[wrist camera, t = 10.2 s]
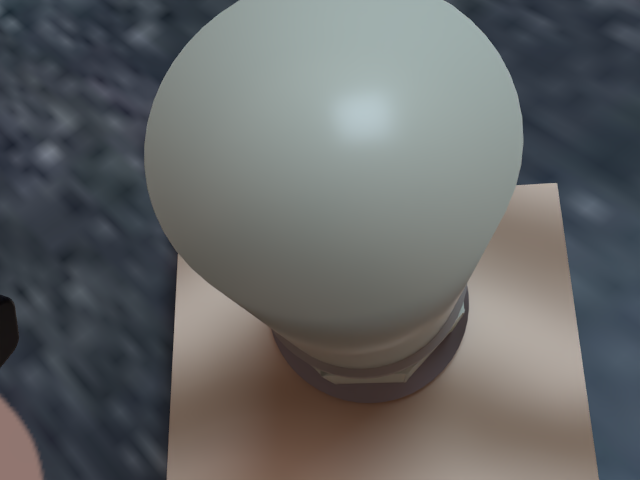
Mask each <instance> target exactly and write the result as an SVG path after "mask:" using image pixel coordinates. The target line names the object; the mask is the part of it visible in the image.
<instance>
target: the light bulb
mask: <svg viewBox="0 0 640 480" xmlns="http://www.w3.org/2000/svg"><path fill="white" fill-rule="evenodd" d="M522 149H523V126H522V115H521V110H520V105H519V100H518V95H517V92H516V90H515V87H514V84H513V81H512V79H511V76H510V73H509V71H508V70H507V68H506V66H505V64H504V62H503V60H502V58H501V57H500V55H499V53H498V52H497V50H496V49H495V48H494V46H493V45H492V43H491V42H490V41H489V39H488V38H487V37H486V35H485V34H484V33H483V32H482V31H481V30H480V29H479V28H478V27H477V26H476V25H475V24H474V23H473V22H472V21H471V20H470V19H469V18H468V17H466V16H465V15H464V14H462V13H461V12H460V11H459V10H457V9H456V8H455V7H454V6H452V5H451V4H449V3H447V2H446V1H444V0H240V1H238V2H236V3H235V4H233V5H232V6H230V7H229V8H227V9H226V10H224V11H223V12H221V13H220V14H218V15H217V16H216V17H215V18H214V19H212V20H211V21H210V22H209V23H208V24H206V25H205V26H204V27H203V28H202V29H201V30H200V31H199V32H198V33H197V34H196V35H195V36H194V37H193V38H192V39H191V40H190V41H189V42H188V43H187V44H186V46H185V47H184V48H183V50H182V51H181V52H180V54H179V55H178V56H177V58H176V59H175V60H174V62H173V63H172V65H171V67H170V68H169V70H168V72H167V74H166V75H165V77H164V79H163V81H162V83H161V85H160V87H159V90H158V92H157V94H156V97H155V99H154V102H153V105H152V109H151V112H150V116H149V119H148V123H147V130H146V138H145V156H144V167H145V174H146V181H147V188H148V192H149V195H150V199H151V202H152V206H153V209H154V212H155V214H156V216H157V218H158V221H159V223H160V225H161V227H162V229H163V231H164V233H165V235H166V236H167V238H168V239H169V241H170V242H171V244H172V245H173V247H174V249H175V250H176V251H177V253H178V254H179V255H180V256H181V257H182V258H183V259H184V261H185V262H186V263H187V264H188V265H189V266H190V267H191V269H193V270H194V271H195V272H196V273H197V274H198V275H200V276H201V277H202V278H203V279H204V280H205V281H207V282H208V283H209V284H210V285H211V286H213V287H214V288H216V289H217V290H218V291H220V292H221V293H223V294H224V295H225V296H227V297H228V298H230V299H231V300H232V301H234V302H235V303H236V304H238V305H239V306H241V307H242V308H243V309H245V310H246V311H248V312H249V313H250V314H252V315H253V316H255V317H256V318H257V319H259V320H260V321H261V322H263V323H264V324H266V325H267V326H268V327H270V328H271V330H272V331H273V332H274V334H275V335H276V337H277V338H278V339H279V340H280V341H281V342H282V344H283V345H284V346H285V347H286V348H287V349H289V350H290V351H291V352H292V353H293V354H294V355H296V356H297V357H299V358H300V359H302V360H303V361H305V362H306V363H308V364H310V365H311V366H312V367H313V368H314V369H315V370H316V371H317V372H318V373H320V374H321V377H323V378H325V379H327V380H328V381H330V382H332V383H334V384H336V385H337V384H354V383H392V382H404V383H405V382H407V380H408V379H409V377H410V376H411V375H412V374H413V373H414V372H415V371H416V370H417V369H418V367H419V366H420V365H421V364H422V363H423V362H424V361H425V360H426V359H427V357H428V356H429V355H430V354H431V353H432V352H433V351H434V350H435V349H436V347H437V346H438V345H439V344H440V343H441V342H442V341H443V340H444V339H445V337H446V336H447V335H448V334H449V333H450V332H452V331H453V329H454V328H455V326H456V325H457V323H458V322H459V320H460V319H461V317H462V316H463V314H464V311H465V309H464V298H465V294H466V290H467V282H468V280H469V279H470V277H471V275H472V273H473V271H474V269H475V268H476V266H477V264H478V262H479V260H480V258H481V256H482V255H483V253H484V251H485V249H486V247H487V245H488V243H489V242H490V240H491V238H492V236H493V234H494V232H495V231H496V229H497V227H498V225H499V223H500V221H501V219H502V218H503V216H504V214H505V212H506V210H507V207H508V205H509V202H510V200H511V197H512V195H513V193H514V190H515V187H516V183H517V179H518V175H519V171H520V167H521V159H522Z"/></svg>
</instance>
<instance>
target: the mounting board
mask: <svg viewBox="0 0 640 480" xmlns="http://www.w3.org/2000/svg"><path fill="white" fill-rule="evenodd" d="M464 309H465V311H464V314H463V316H462V317H461V319H460V320H459V322H458V323H457V325H456V326H455V328H454V329H453V331H452V332H450V333H449V334H448V335H447V336H446V337H445V339H444V340H443V341H442V342H441V343H440V344H439V345H438V346H437V347H436V349H435V350H434V351H433V352H432V353H431V354H430V355H429V356H428V357H427V359H426V360H425V361H424V362H423V363H422V364H421V365H420V366H419V367H418V369H417V370H416V371H415V372H414V373H413V374H412V375H411V376H410V377H409V379H408V380H407V382H405V383H404V382H392V383H354V384H337V385H336V384H334V383H332V382H330V381H328V380H327V379H325V378H323V377H321V374H320V373H318V372H317V371H316V370H315V369H314V368H313V367H312V366H311V365H310V364H308V363H306V362H305V361H303V360H302V359H300V358H299V357H297V356H296V355H294V354H293V353H292V352H291V351H290V350H289V349H287V348H286V347H285V346H284V345H283V344H282V342H281V341H280V340H279V339H278V338H277V337H276V335H275V334H274V332H273V331H272V330H271V328H270V327H268V326H267V325H266V324H264V323H263V322H261V321H260V320H259V319H257V318H256V317H255V316H253V315H252V314H250V313H249V312H248V311H246V310H245V309H243V308H242V307H241V306H239V305H238V304H236V303H235V302H234V301H232V300H231V299H230V298H228V297H227V296H225V295H224V294H223V293H221V292H220V291H218V290H217V289H216V288H214V287H213V286H211V285H210V284H209V283H208V282H207V281H205V280H204V279H203V278H202V277H201V276H200V275H198V274H197V273H196V272H195V271H194V270H193V269H191V267H190V266H189V265H188V264H187V263H186V262H185V261H184V259H183V258H182V257H181V256H180V255H179V254H178V265H177V285H176V305H175V324H174V344H173V364H172V384H171V404H170V424H169V444H168V464H167V480H599V477H598V470H597V463H596V456H595V449H594V442H593V435H592V428H591V421H590V414H589V407H588V400H587V392H586V385H585V378H584V371H583V364H582V357H581V350H580V343H579V336H578V329H577V322H576V314H575V307H574V300H573V293H572V286H571V279H570V272H569V265H568V258H567V251H566V244H565V236H564V229H563V222H562V215H561V208H560V201H559V194H558V187H557V183H549V184H532V185H516V187H515V190H514V193H513V195H512V197H511V200H510V202H509V205H508V207H507V210H506V212H505V214H504V216H503V218H502V219H501V221H500V223H499V225H498V227H497V229H496V231H495V232H494V234H493V236H492V238H491V240H490V242H489V243H488V245H487V247H486V249H485V251H484V253H483V255H482V256H481V258H480V260H479V262H478V264H477V266H476V268H475V269H474V271H473V273H472V275H471V277H470V279H469V280H468V282H467V290H466V294H465V298H464Z"/></svg>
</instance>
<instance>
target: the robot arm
mask: <svg viewBox="0 0 640 480" xmlns="http://www.w3.org/2000/svg"><path fill="white" fill-rule="evenodd" d="M18 340H19V332H18V325H17V318H16V310H15V305H14V302H13V301H12V300H11V299H10V298H8V297H6V296H3V295H0V367H1V366H2V365H3V364H4V363H5V361H6V360H7V359H8V358H9V356H10V355H11V354H12V353H13V351H14V350H15V348H16V346H17V343H18Z"/></svg>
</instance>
